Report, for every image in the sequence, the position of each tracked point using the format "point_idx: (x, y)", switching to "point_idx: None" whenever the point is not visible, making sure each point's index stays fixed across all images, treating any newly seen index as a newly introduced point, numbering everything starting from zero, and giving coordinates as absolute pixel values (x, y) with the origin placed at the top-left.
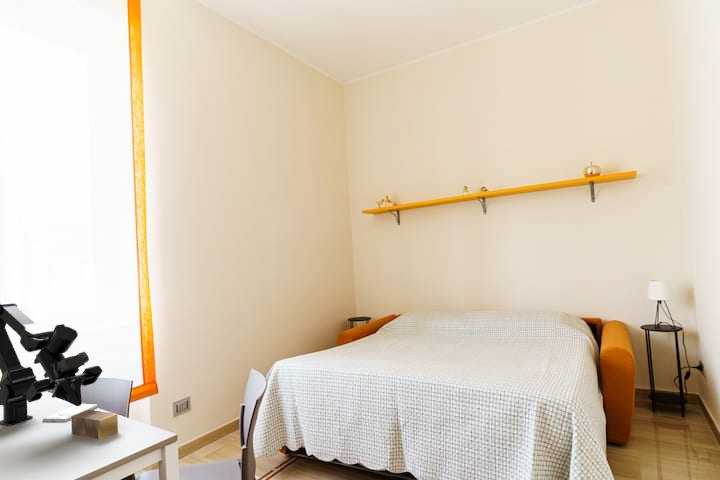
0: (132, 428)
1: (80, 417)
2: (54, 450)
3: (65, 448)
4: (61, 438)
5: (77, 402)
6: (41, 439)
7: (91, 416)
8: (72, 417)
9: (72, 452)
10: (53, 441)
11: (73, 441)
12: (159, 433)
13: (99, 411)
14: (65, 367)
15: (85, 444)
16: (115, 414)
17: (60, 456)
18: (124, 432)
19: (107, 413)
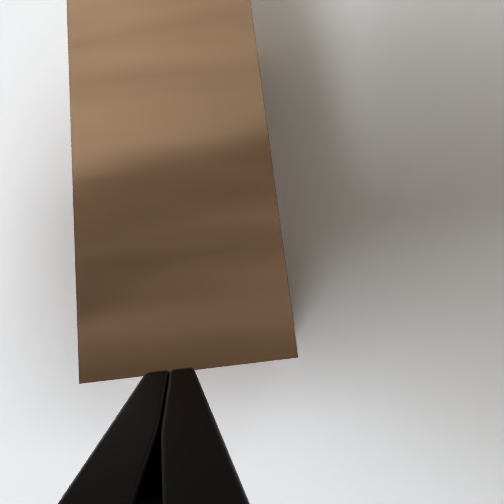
0: (36, 23)
1: (274, 200)
2: (481, 151)
3: (428, 115)
4: (364, 341)
5: (201, 394)
6: (458, 495)
7: (208, 114)
8: (293, 339)
9: (430, 13)
10: (422, 337)
11: (346, 186)
12: None
13: (77, 189)
14: None
15: (332, 57)
16: None
17: (494, 23)
18: None
19: (89, 46)
